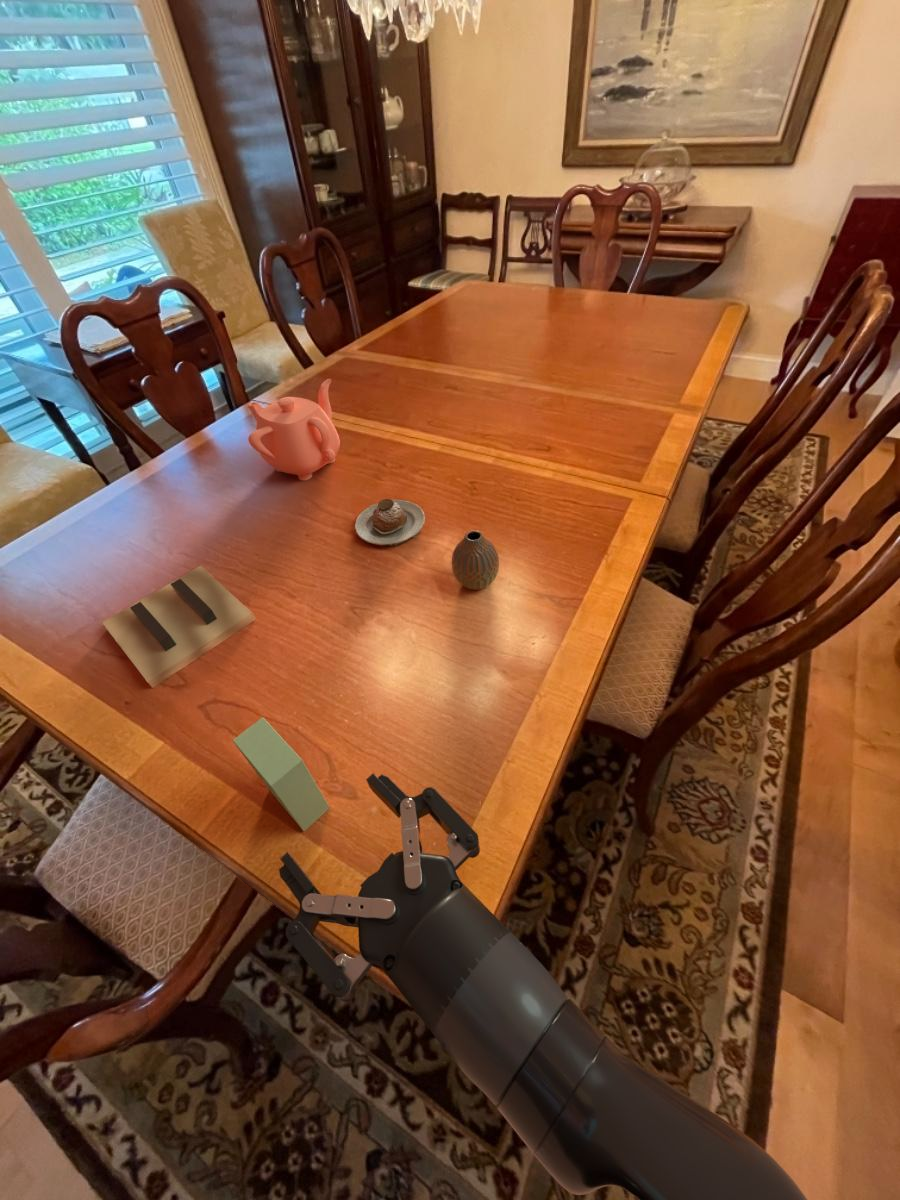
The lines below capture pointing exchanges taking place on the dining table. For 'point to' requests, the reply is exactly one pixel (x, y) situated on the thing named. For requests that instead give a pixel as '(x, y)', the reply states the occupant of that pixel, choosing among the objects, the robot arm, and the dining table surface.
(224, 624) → the seat base
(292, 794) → the green rectangular block
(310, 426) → the teapot
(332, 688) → the dining table surface
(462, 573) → the vase
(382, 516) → the pastry
